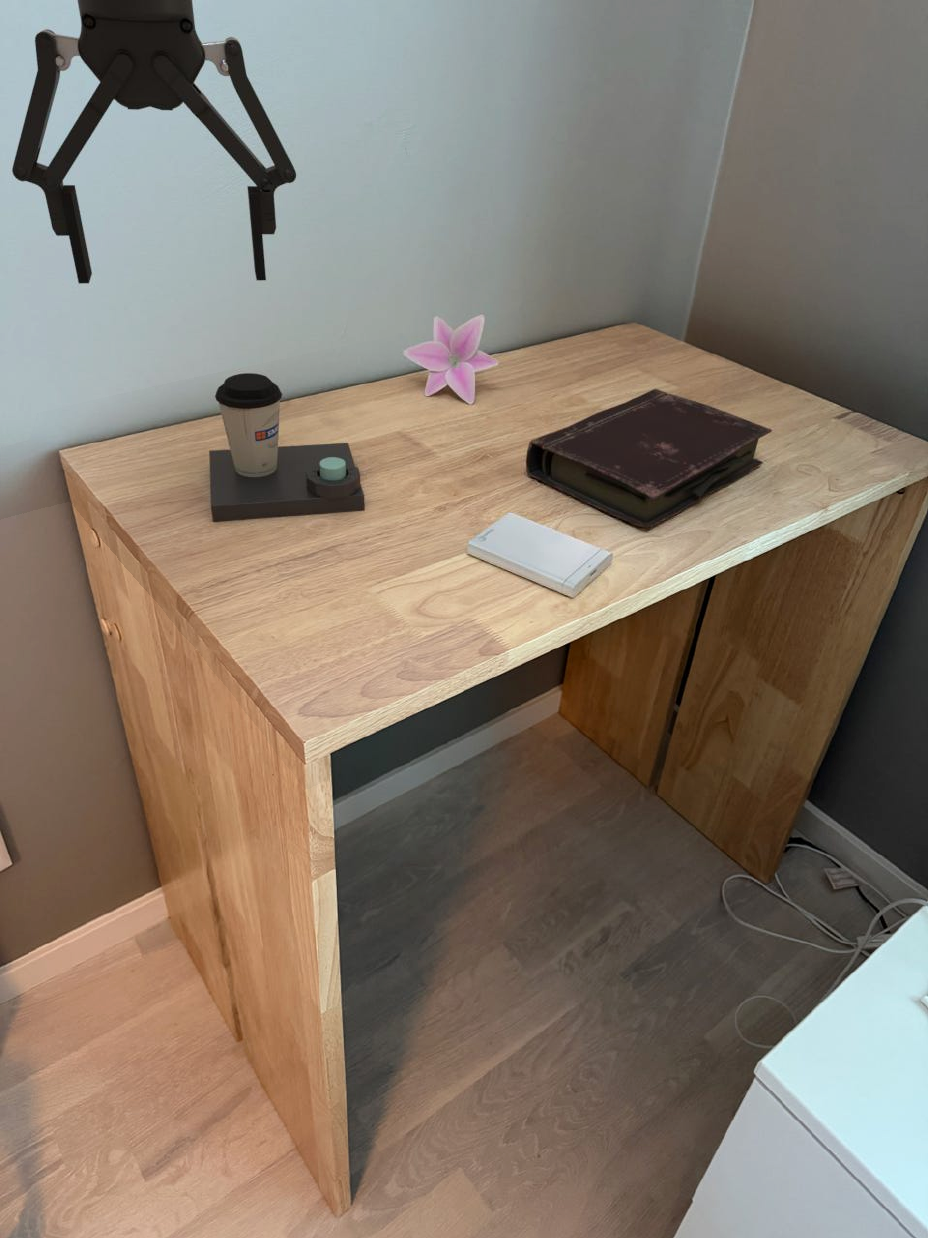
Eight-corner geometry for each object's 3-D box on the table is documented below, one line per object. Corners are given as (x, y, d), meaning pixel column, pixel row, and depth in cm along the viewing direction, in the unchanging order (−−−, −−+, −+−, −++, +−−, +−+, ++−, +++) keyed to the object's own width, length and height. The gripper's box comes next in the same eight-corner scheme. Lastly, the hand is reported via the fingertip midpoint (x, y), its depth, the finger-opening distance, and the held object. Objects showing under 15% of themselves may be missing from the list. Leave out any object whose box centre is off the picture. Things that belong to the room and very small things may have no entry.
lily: (394, 388, 126) (392, 342, 117) (447, 339, 130) (449, 291, 121) (458, 434, 123) (461, 391, 114) (510, 383, 127) (517, 338, 118)
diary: (522, 474, 104) (526, 435, 101) (644, 419, 119) (651, 383, 116) (651, 537, 94) (660, 496, 91) (767, 468, 109) (778, 431, 106)
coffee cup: (210, 472, 97) (199, 385, 91) (248, 448, 102) (239, 364, 96) (264, 487, 95) (255, 400, 89) (299, 462, 100) (294, 377, 94)
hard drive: (466, 541, 89) (573, 585, 83) (510, 510, 94) (613, 549, 89) (466, 555, 90) (571, 600, 84) (509, 523, 95) (611, 563, 90)
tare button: (321, 482, 94) (320, 469, 93) (318, 470, 96) (317, 457, 95) (347, 480, 94) (347, 467, 93) (344, 468, 97) (343, 456, 96)
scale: (213, 523, 92) (208, 493, 90) (211, 465, 102) (207, 437, 100) (365, 511, 95) (364, 483, 93) (348, 456, 106) (347, 429, 104)
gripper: (311, -42, 64) (324, 261, 77) (-66, -65, 59) (15, 265, 71) (322, -40, 58) (334, 287, 71) (-94, -66, 53) (-1, 294, 66)
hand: (174, 277), depth 71 cm, fingers open, 13 cm apart
